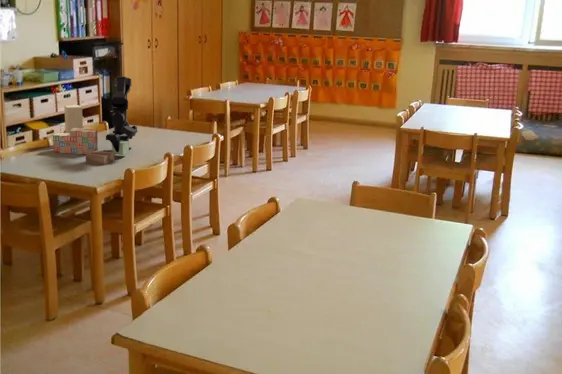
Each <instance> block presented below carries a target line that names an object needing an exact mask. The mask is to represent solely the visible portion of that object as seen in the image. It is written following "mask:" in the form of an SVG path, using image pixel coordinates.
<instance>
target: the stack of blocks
mask: <svg viewBox="0 0 562 374" xmlns="http://www.w3.org/2000/svg"><path fill="white" fill-rule="evenodd" d="M52 141H53V142H52V143H53V144H52V145H53V153H62V154H75V155H76V154H80V155H87V154H89V153H92V152H94V151H96V150H97V151H99V148H98V146H99V145H98V129H92V128H83V129H81V128H80V129H79V128H73V129H72V130H70V134H69V133H66V132H55V133H54V134H53V135H52Z"/></svg>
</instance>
